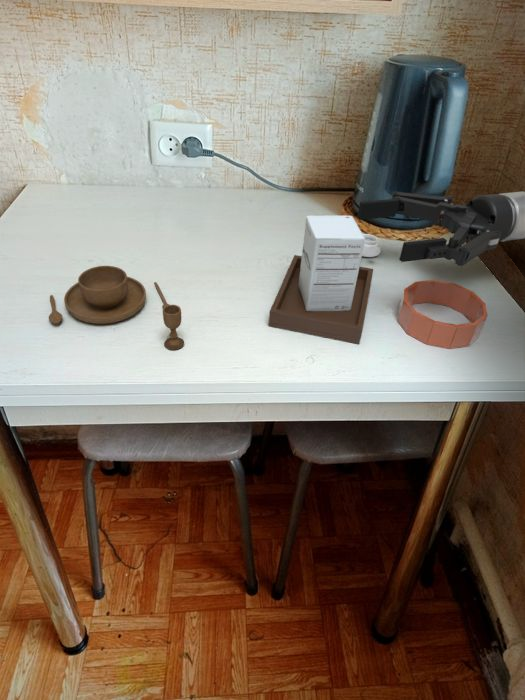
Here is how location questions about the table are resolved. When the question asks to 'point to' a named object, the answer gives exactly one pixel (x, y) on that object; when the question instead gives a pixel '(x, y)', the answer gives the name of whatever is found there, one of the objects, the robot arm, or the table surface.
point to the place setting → (113, 301)
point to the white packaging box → (330, 262)
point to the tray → (326, 324)
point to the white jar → (370, 246)
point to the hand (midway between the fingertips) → (379, 230)
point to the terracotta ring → (436, 330)
